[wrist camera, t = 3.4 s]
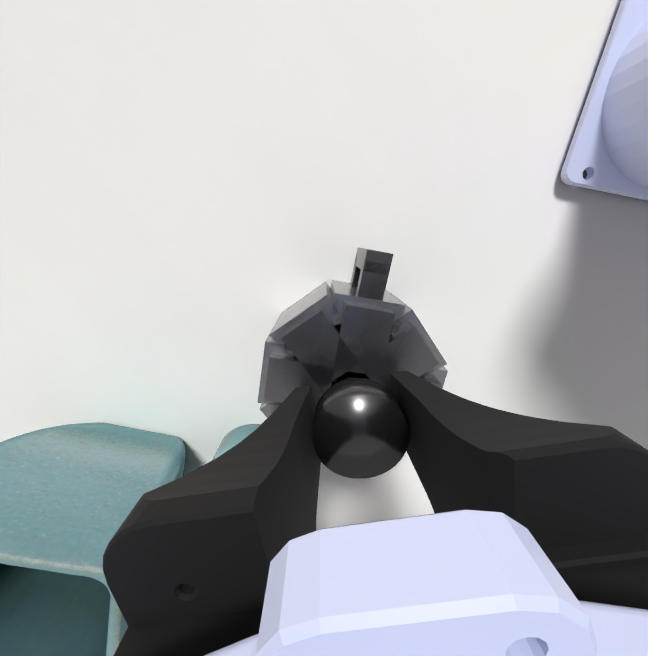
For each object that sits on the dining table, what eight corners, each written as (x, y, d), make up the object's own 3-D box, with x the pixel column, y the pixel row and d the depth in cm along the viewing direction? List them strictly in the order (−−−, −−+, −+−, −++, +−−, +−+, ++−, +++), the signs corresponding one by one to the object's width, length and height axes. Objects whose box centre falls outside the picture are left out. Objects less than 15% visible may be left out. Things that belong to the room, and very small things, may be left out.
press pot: (440, 262, 15) (485, 270, 11) (396, 424, 18) (419, 481, 14) (290, 235, 15) (277, 233, 11) (267, 404, 17) (248, 457, 13)
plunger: (382, 339, 15) (420, 403, 9) (369, 394, 16) (396, 484, 10) (322, 329, 15) (321, 388, 9) (312, 385, 16) (306, 471, 10)
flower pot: (63, 382, 17) (-202, 527, 8) (220, 412, 18) (121, 578, 9) (65, 505, 19) (-141, 716, 11) (203, 528, 20) (112, 747, 11)
